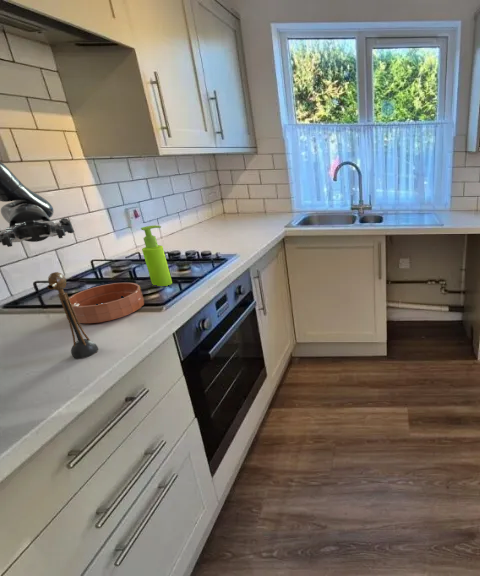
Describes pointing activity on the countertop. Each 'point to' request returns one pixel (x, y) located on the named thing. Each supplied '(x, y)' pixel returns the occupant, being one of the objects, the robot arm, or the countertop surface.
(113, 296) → the bowl
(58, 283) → the wooden tabletop sculpture
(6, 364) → the countertop surface
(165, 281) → the soap dispenser
